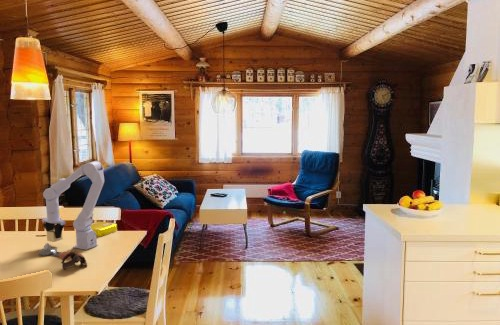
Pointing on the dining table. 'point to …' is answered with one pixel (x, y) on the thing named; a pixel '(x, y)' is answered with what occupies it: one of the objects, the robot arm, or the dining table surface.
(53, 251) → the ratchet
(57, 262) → the dining table surface
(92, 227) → the element tile
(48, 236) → the wooden cube
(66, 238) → the dining table surface
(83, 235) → the robot arm
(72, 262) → the brown arched piece
